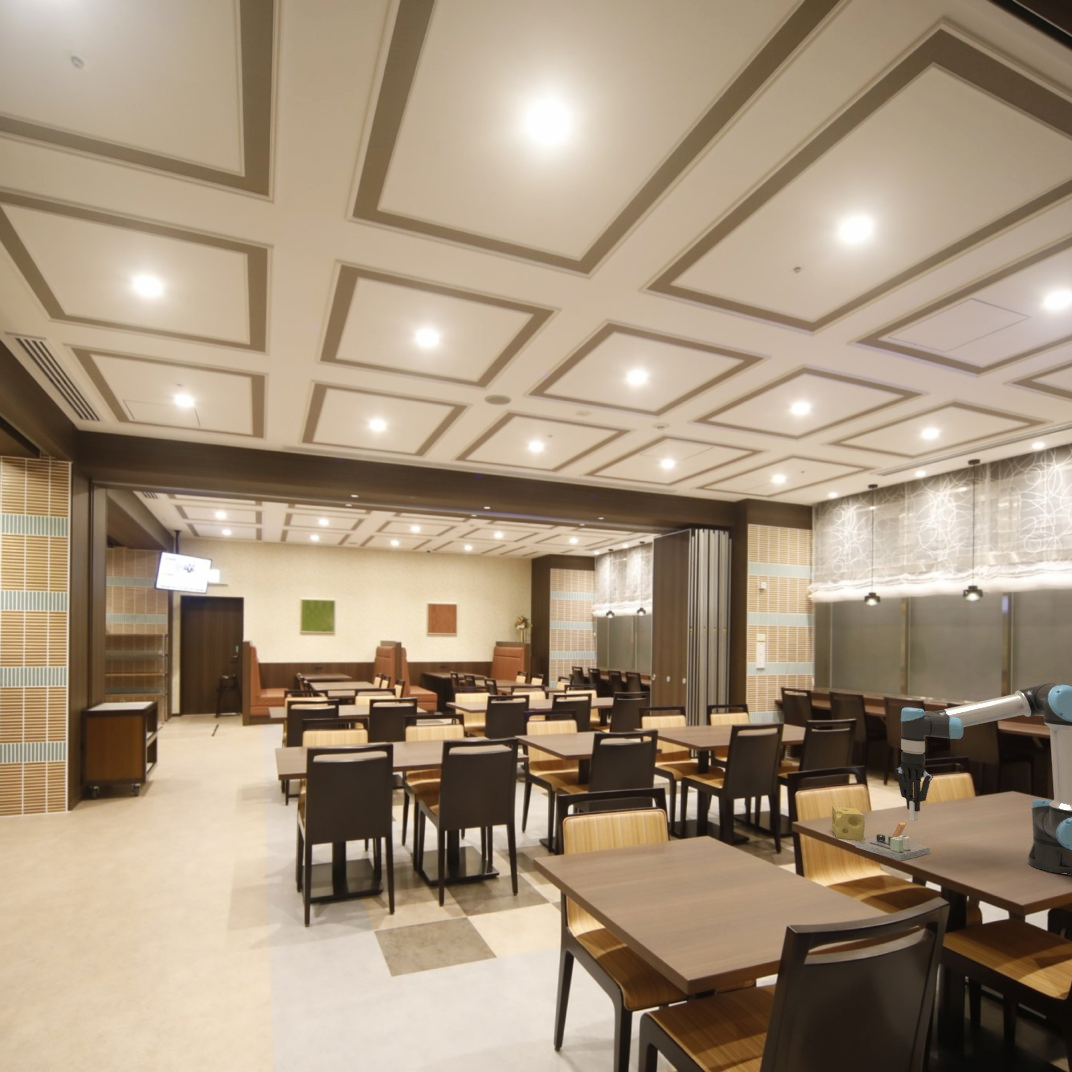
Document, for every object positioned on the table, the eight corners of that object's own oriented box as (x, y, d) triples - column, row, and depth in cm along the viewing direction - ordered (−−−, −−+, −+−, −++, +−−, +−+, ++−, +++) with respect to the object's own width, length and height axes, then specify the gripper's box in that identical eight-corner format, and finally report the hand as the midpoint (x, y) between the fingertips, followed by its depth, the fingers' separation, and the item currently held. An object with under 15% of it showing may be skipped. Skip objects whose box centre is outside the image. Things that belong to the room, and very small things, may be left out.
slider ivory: (910, 849, 253) (910, 836, 253) (906, 850, 251) (905, 837, 252) (902, 846, 255) (902, 834, 256) (898, 847, 254) (897, 835, 254)
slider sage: (903, 850, 250) (903, 838, 251) (898, 852, 248) (898, 839, 249) (895, 848, 252) (894, 836, 253) (890, 849, 251) (890, 837, 251)
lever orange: (898, 841, 262) (906, 824, 261) (894, 842, 261) (901, 825, 259) (894, 839, 264) (902, 821, 262) (890, 840, 262) (898, 822, 260)
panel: (929, 853, 256) (929, 842, 257) (900, 861, 245) (900, 849, 246) (884, 840, 270) (884, 829, 271) (855, 847, 259) (855, 836, 260)
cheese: (835, 838, 269) (835, 811, 271) (831, 830, 280) (830, 805, 281) (864, 841, 267) (864, 814, 268) (858, 834, 277) (858, 808, 279)
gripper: (937, 754, 246) (937, 824, 243) (900, 748, 257) (901, 814, 254) (926, 756, 242) (926, 826, 239) (889, 749, 253) (889, 816, 250)
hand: (913, 820), depth 247 cm, fingers closed
